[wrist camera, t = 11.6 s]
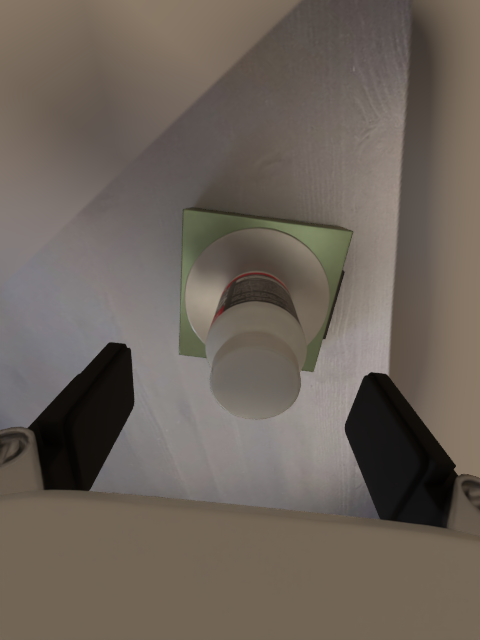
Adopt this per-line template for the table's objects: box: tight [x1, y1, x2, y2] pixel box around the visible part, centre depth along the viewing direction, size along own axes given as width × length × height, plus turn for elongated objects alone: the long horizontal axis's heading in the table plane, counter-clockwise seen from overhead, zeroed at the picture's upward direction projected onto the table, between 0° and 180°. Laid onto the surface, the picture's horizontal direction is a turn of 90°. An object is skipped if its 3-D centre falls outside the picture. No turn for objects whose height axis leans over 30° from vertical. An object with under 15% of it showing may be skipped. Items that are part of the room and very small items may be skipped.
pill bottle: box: [206, 271, 307, 420], centre depth 16 cm, size 5×5×10 cm
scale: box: [179, 207, 353, 372], centre depth 23 cm, size 12×12×3 cm
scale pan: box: [184, 227, 330, 345], centre depth 21 cm, size 11×11×1 cm
